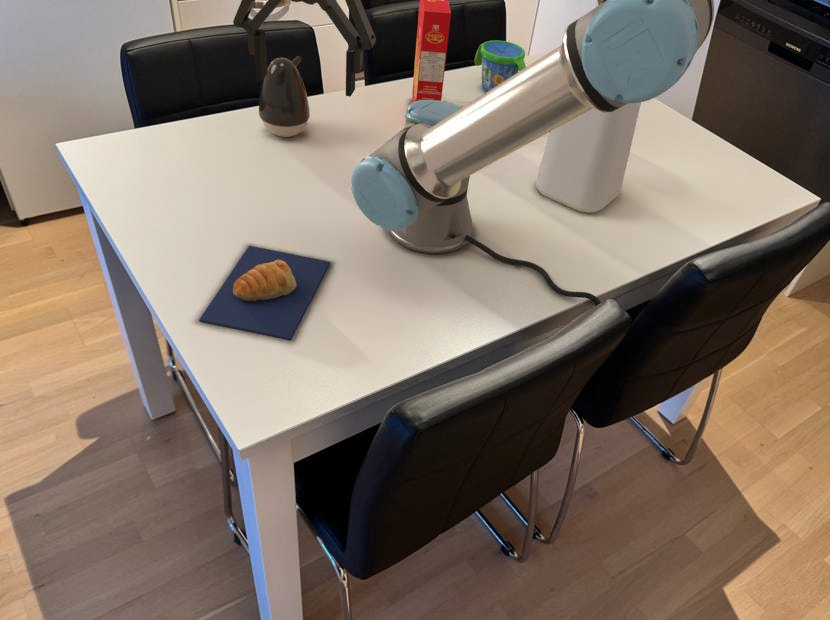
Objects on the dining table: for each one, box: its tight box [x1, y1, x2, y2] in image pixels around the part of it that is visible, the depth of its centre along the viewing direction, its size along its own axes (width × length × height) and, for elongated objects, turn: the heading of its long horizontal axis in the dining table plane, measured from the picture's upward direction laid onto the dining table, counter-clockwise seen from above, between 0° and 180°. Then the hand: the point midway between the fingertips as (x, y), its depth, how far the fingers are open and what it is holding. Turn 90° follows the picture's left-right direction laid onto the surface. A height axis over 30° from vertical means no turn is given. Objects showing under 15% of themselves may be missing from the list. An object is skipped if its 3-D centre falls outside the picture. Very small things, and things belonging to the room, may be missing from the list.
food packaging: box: [411, 0, 452, 103], centre depth 159 cm, size 15×5×25 cm, turn 4°
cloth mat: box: [199, 245, 331, 341], centre depth 116 cm, size 14×20×1 cm
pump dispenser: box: [258, 55, 311, 138], centre depth 150 cm, size 10×10×15 cm
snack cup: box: [474, 39, 527, 93], centre depth 179 cm, size 16×10×10 cm
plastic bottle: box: [535, 102, 642, 214], centre depth 141 cm, size 15×15×28 cm
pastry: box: [233, 259, 296, 301], centre depth 115 cm, size 9×7×4 cm
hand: (306, 85), depth 111 cm, fingers open, 13 cm apart
